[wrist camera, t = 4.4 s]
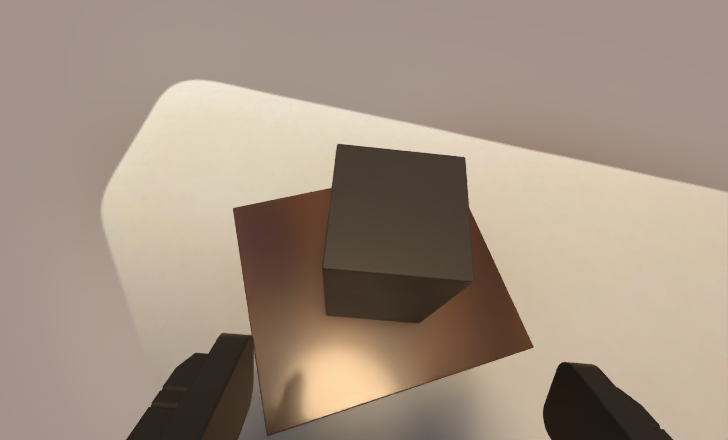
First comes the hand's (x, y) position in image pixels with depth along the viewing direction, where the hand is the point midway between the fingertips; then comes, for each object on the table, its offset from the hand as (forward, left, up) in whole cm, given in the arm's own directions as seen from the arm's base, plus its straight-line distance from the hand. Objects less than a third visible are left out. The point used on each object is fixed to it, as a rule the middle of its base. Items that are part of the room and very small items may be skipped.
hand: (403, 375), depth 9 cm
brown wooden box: (+2, +5, -14) cm, 15 cm away
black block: (+2, +5, -9) cm, 10 cm away
